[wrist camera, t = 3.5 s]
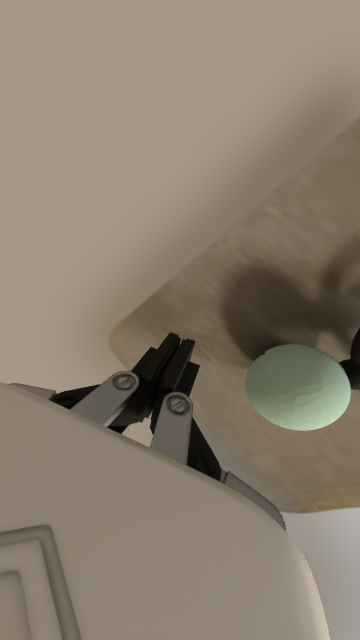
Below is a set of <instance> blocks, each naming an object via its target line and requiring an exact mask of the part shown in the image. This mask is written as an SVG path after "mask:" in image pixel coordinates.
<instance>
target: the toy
mask: <svg viewBox="0 0 360 640" xmlns="http://www.w3.org/2000/svg"><path fill="white" fill-rule="evenodd" d="M350 355H351V359H348V360H344V361H341V362H339V363H338V362H337V361H336V360H335V359H334V358H333V357H331V356H330V355H329V354H327V353H325V352H323V351H321V350H319V349H317V348H314V347H310V346H306V345H300V344H288V345H281V346H277V347H273V348H271V349H269V350H267V351H265V352H263V353H262V354H261V355H259V356H258V357H257V358H256V359H255V360H254V361H253V363H252V364H251V365H250V367H249V370H248V372H247V376H246V391H247V395H248V398H249V400H250V402H251V403H252V405H253V407H254V408H255V409H256V410H257V411H258V412H259V413H260V414H261V415H262V416H263V417H264V418H266V419H267V420H269V421H270V422H272V423H274V424H276V425H278V426H281V427H284V428H287V429H292V430H313V429H318V428H322V427H324V426H327V425H329V424H331V423H332V422H334V421H336V420H337V419H338V418H339V417H340V416H341V415H342V414H343V412H344V411H345V410H346V408H347V406H348V404H349V401H350V394H351V389H353V390H360V328H359V330H358V331H357V333H356V335H355V337H354V339H353V342H352V346H351V354H350Z"/></svg>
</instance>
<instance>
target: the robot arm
mask: <svg viewBox="0 0 360 640" xmlns="http://www.w3.org/2000/svg"><path fill="white" fill-rule="evenodd" d="M180 341H181V338H178V335H177V334H174V333H171V332H170V333H169V334H168V336H167V337H166V338H165V340H164V341H163V342H162V344H161V345H160V346H159V348H158V349H155V348H153V347H151V348H149V350H148V351H147V352H146V353H145V355H144V356H143V357H142V358H141V359H140V361H139V362H138V363H137V364H136V366H135V367H134V368H133V369H132V370H131V372H130V371H120V372H117V373H115V374H113V375H112V376H111V377H110V378H108V379H107V380H106V381H105V382H103V383H102V384H99V385H94V386H89V387H84V388H79V389H75V390H69V391H64V392H61V393H59V394H57V393H56V391H53V390H49V389H43V388H38V387H34V386H28V385H24V384H18V383H12V384H5V383H1V382H0V640H330V636H329V631H328V627H327V623H326V619H325V615H324V611H323V607H322V603H321V600H320V597H319V593H318V590H317V587H316V584H315V581H314V578H313V575H312V573H311V570H310V568H309V566H308V563H307V561H306V559H305V558H304V556H303V554H302V552H301V551H300V549H299V548H298V547H297V545H296V544H295V542H294V541H293V540H292V539H291V537H290V536H289V535H288V534H287V532H286V527H285V523H284V520H283V517H282V515H281V513H280V512H279V510H278V509H277V508H276V507H275V506H274V505H273V504H272V503H271V502H270V501H269V500H267V499H266V498H265V497H263V496H262V495H261V494H259V493H258V492H257V491H255V490H254V489H253V488H251V487H250V486H249V485H247V484H246V483H245V482H243V481H242V480H241V479H239V478H238V477H237V476H235V475H234V474H232V473H231V472H230V471H228V472H226V471H224V470H223V469H222V468H221V467H220V465H219V462H218V460H217V459H216V457H215V455H214V453H213V452H212V450H211V448H210V446H209V445H208V443H207V441H206V439H205V438H204V436H203V434H202V433H201V431H200V429H199V427H198V426H197V424H196V422H195V420H194V419H193V417H192V413H193V403H192V401H191V399H190V398H189V396H190V393H191V390H192V387H193V384H194V381H195V378H196V376H197V373H198V370H199V367H200V365H197V364H195V363H192V362H189V361H190V358H191V355H192V351H193V348H194V345H195V341H193V340H191V339H188V338H187V339H186V340H184V339H183V340H182V342H181V344H180ZM179 344H180V346H179ZM152 410H153V411H152ZM151 412H152V416H151V425H150V429H151V431H152V434H153V438H152V442H151V446H150V448H149V447H147V446H145V445H143V444H141V443H139V442H137V441H134V440H132V439H130V438H128V437H126V436H125V435H126V433H127V432H128V431H129V430H130V428H131V426H132V424H133V423H137V422H143V420H144V418H145V417H146V418H149V416H150V414H151Z"/></svg>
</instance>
